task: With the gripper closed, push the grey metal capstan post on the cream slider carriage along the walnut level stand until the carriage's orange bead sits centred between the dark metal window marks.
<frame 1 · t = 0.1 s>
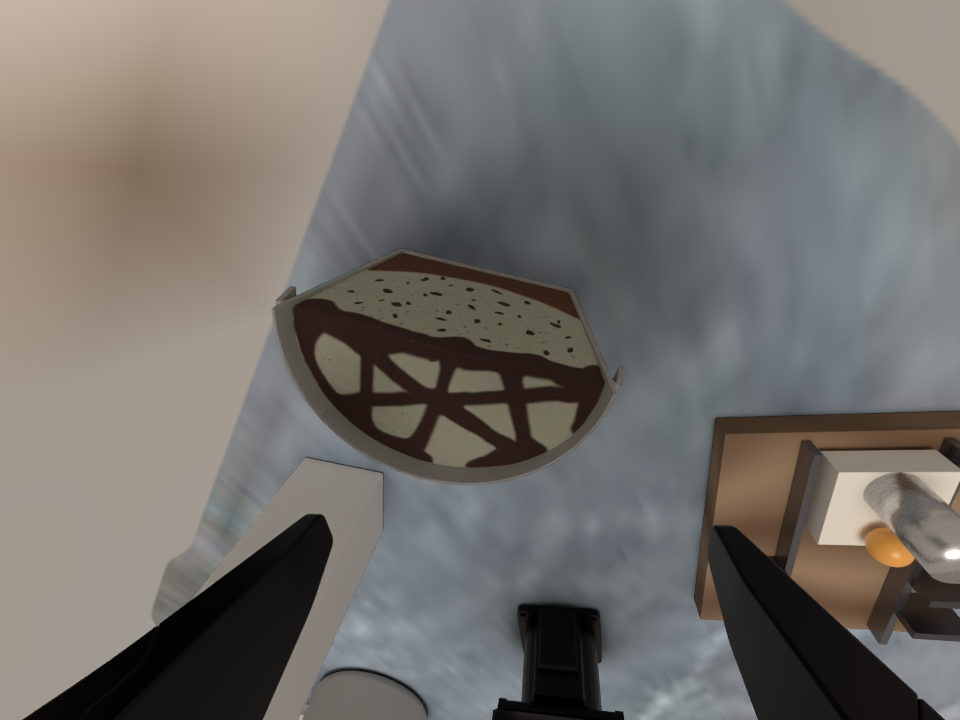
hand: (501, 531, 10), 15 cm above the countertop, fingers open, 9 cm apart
milk: (346, 492, 32), on the countertop
cylinder vase: (374, 697, 46), on the countertop
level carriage: (903, 530, 20), point 5 cm above the countertop, slide at 0.0 cm
level stand: (823, 533, 26), on the countertop
food container: (475, 320, 24), on the countertop
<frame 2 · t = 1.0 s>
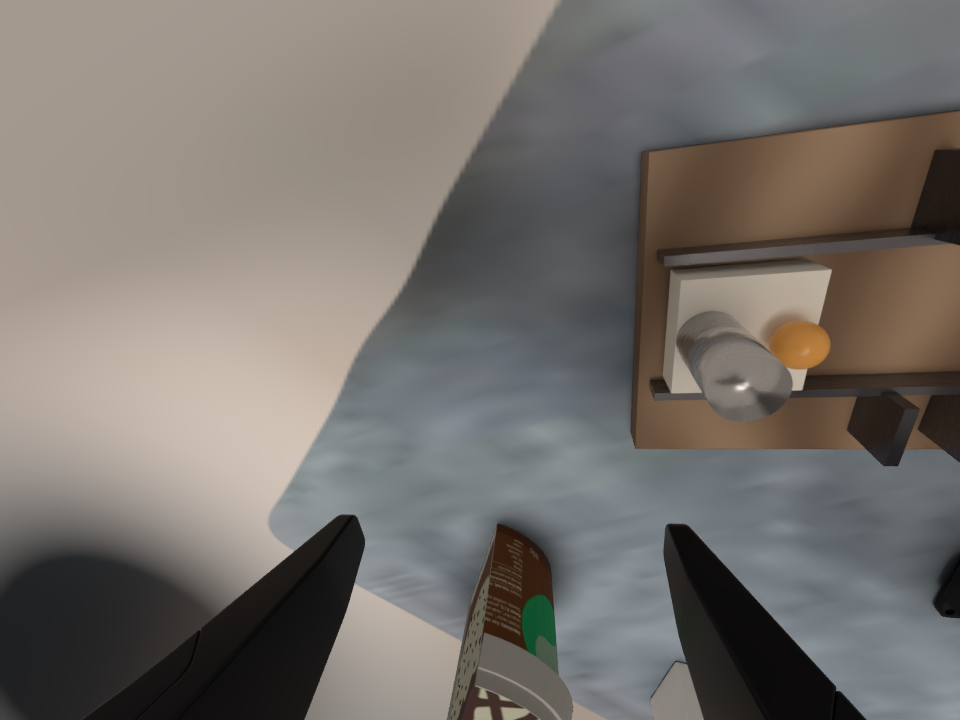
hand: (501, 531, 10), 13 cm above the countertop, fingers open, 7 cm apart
milk: (699, 687, 33), on the countertop
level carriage: (756, 350, 15), point 5 cm above the countertop, slide at 0.0 cm
level stand: (850, 299, 18), on the countertop
food container: (523, 575, 30), on the countertop
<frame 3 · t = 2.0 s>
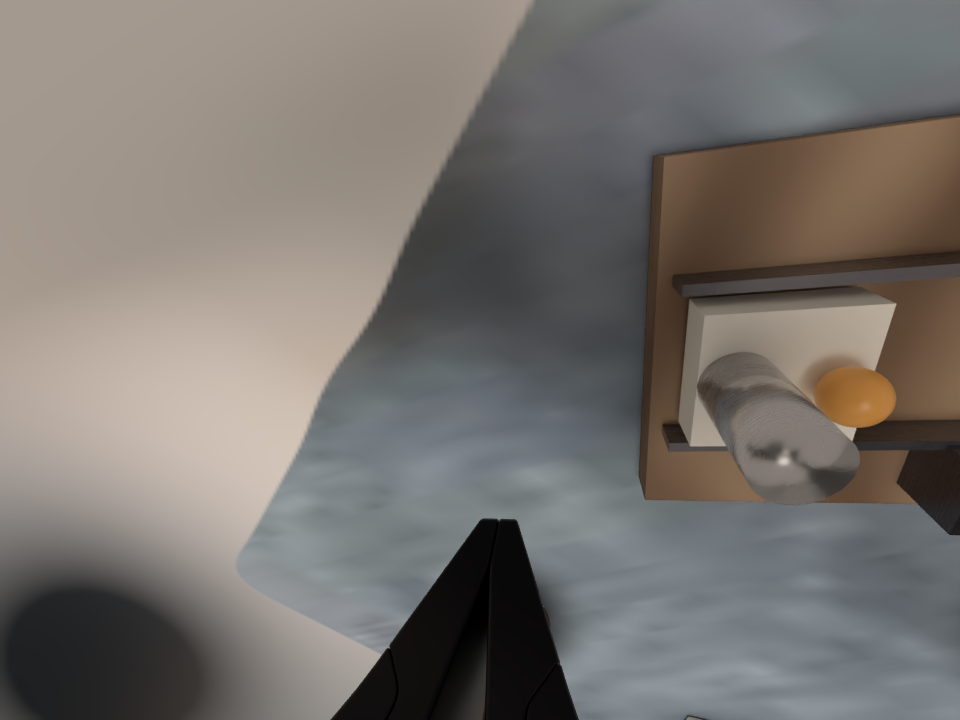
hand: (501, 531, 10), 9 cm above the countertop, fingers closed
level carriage: (800, 403, 12), point 5 cm above the countertop, slide at 0.0 cm
level stand: (904, 331, 15), on the countertop
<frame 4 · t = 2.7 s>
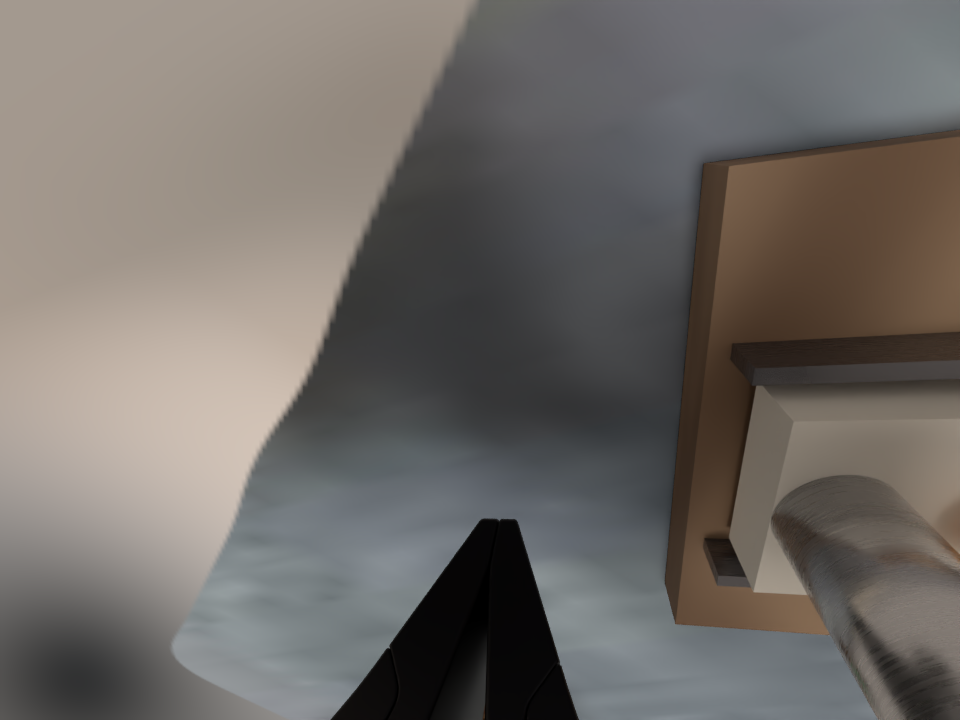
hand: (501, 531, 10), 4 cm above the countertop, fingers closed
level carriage: (958, 573, 7), point 5 cm above the countertop, slide at 0.0 cm
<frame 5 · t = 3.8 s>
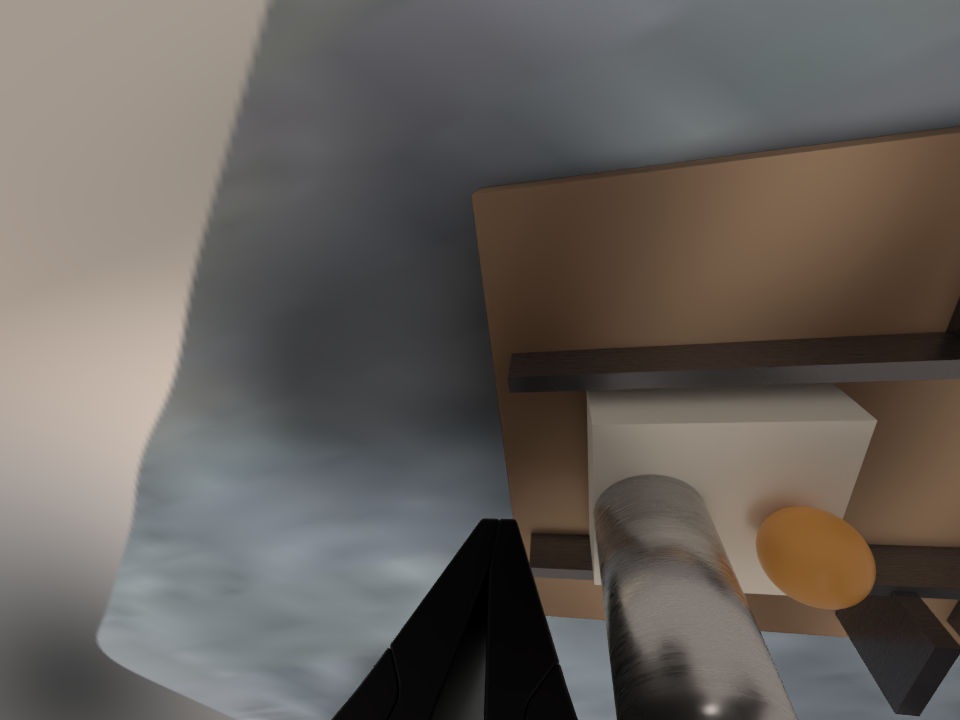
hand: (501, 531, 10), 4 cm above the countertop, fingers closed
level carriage: (732, 565, 8), point 5 cm above the countertop, slide at 1.2 cm, touching gripper
level stand: (840, 422, 11), on the countertop
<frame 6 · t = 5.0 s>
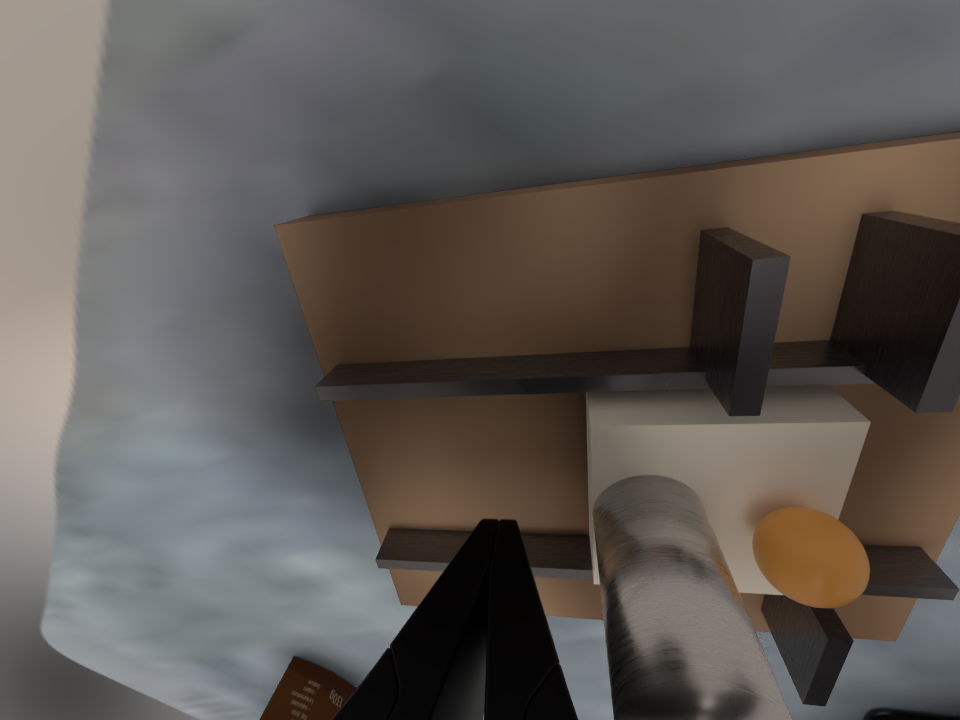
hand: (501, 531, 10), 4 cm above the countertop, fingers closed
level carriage: (728, 564, 8), point 5 cm above the countertop, slide at 6.0 cm, touching gripper
level stand: (652, 426, 12), on the countertop
food container: (345, 708, 24), on the countertop
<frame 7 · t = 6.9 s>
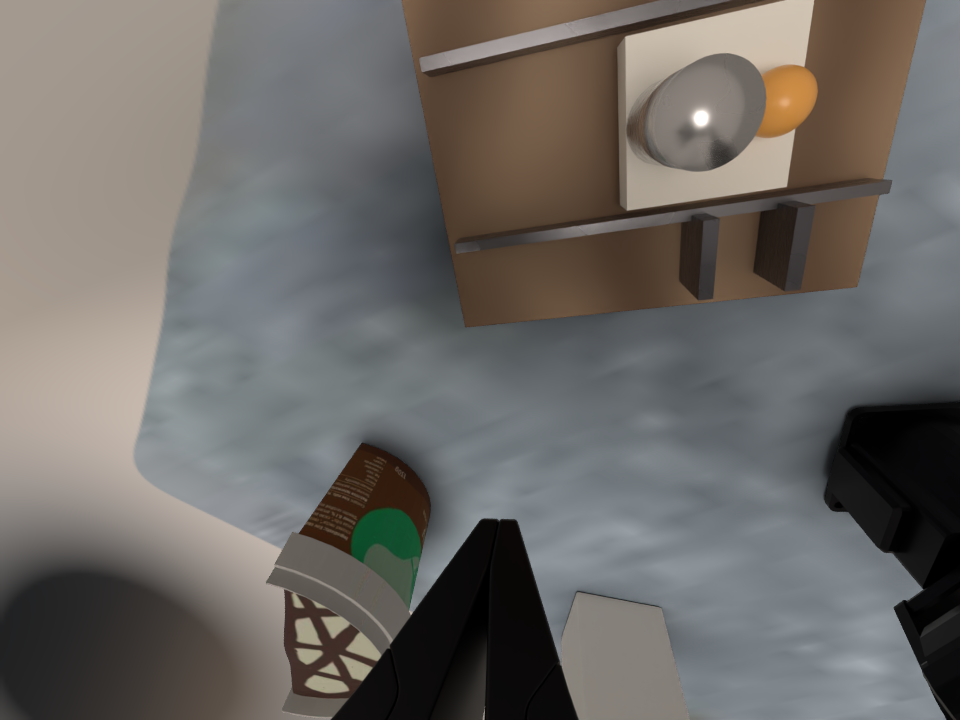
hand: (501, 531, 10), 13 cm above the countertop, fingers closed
milk: (608, 620, 31), on the countertop
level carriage: (724, 112, 12), point 5 cm above the countertop, slide at 6.0 cm
level stand: (664, 123, 16), on the countertop
food container: (403, 504, 28), on the countertop
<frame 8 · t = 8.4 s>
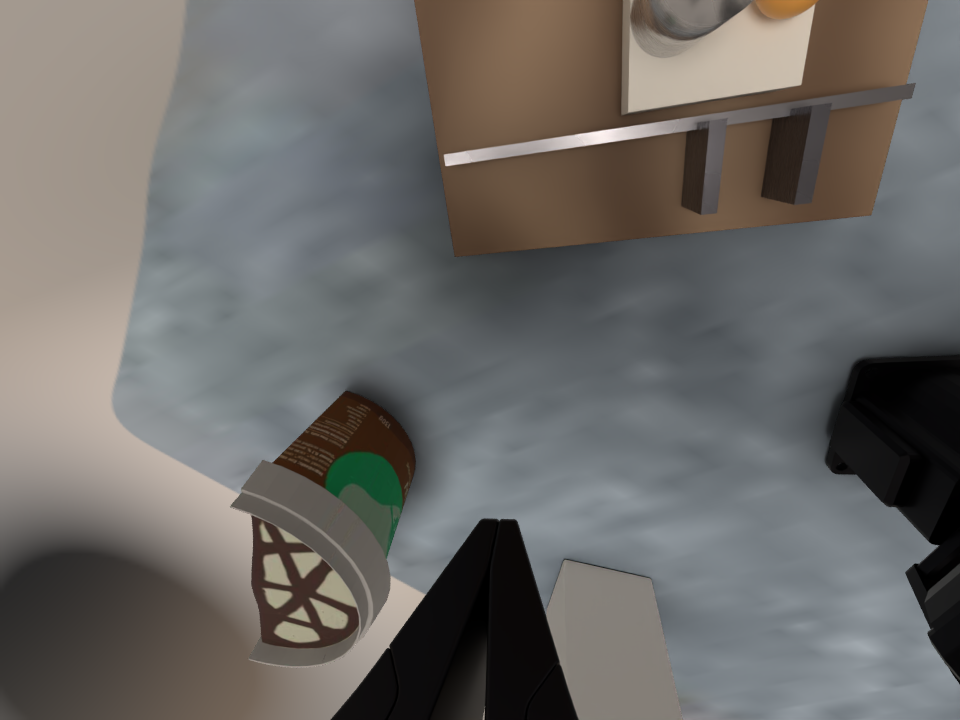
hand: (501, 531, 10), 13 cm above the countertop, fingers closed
milk: (595, 591, 30), on the countertop
level stand: (672, 31, 15), on the countertop
food container: (388, 459, 27), on the countertop
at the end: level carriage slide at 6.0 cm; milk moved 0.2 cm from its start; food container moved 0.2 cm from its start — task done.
